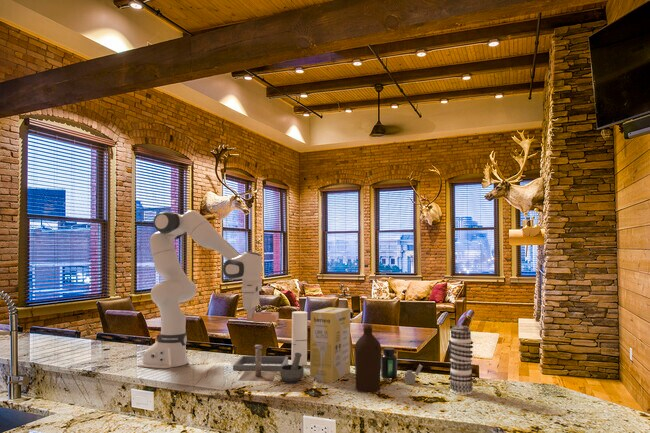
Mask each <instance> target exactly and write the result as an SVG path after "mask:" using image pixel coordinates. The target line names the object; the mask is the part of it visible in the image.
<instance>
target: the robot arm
mask: <svg viewBox="0 0 650 433" xmlns="http://www.w3.org/2000/svg"><path fill="white" fill-rule="evenodd" d="M152 222H153V227H154V229H155V230H156V232H154V233H152V235H151V236H150V238H149V246H150V252H151V257H152V260H153V263H154V265H153V266H154V267H155V271H156V273H157V274H158V275H160V276H161V277H162V278H163V280H164V281H160V282H158V283H155V285H153V286H152V288H151V291H150V298H151V301H152V302H153V303H154V304H155V305H156V306H157V308H158V310H159V314H160V323H161V324H160V327H161V328H160V332H159V334H157V335H156V336H155V340H156V342H155V343H153V344H151V345H150V346H149V347H148V348H147V349H146V350H145V351H144V353H143V355H142V356H143V357H142V359H141V360H139V361H138V362H137V367H140V368H141V367H142V368H143V367H144V368H153V369H155V368H156V369H170V368H174V367H175V368H176V367H180V366H184V365H187V364H189V359H188V356H187V355H188V354H187V349H186V348H187V346H186V345H187V332H186V324H187V323H186V322H187V317H186V314H185V313H183V312H182V310H181V306H180V303H186V302H189V301H190V300H192V299H194V298H195V296H196V295H197V291H198V290H197V285H196V284H195V282H194V281H193V280H191V279H190V278H189V277H188V276H187V274H186V273H185V272H184V270H183V268H182V266H181V264H180V261H179V260H180V259H179V258H178V254H177V251H176V246H175V243H174V242H175V240H179V239H180V238H181V237H183V236H184V235H186V234H188V235H189V237H190V238H191V239H192V240H193V241H194V243H196V244H197V245H199V246H200V247H202V248H206V249H209V250H213V251H215V252H217V253H219V254H220V255H222V257H223V258H224V259H226V261H225V262H224V263H223V265H222V273H223V276H224V277H225V278H227V279H230V280H241V281H242V284H241V288H240V290H241V292H240V293H242V307H243V310H245V311H246V312H247V314H248V318H252V315H253V314H252V313H256V309H257V308H256V307H257V306H259V305H260V292H261V291H262V289H263V288H262V287H263V286H262V282H263V280H262V271H263V261H262V256H261V254H260V253H259V252H256V251H244V252H243V253H242V254H240V253H239V251H237V249H235V248H234V246H232V244H230V243H229V242H228V241H227V240H226V239H225V238H224V237H223V236H222V235H221V234H220V233H219V232H218V231H217V229H215V227H214V226H213V225H212V224H211V223H210V222H209V221H208V219H206V217H204V216H203V215H202V214H201V213H199V212H198V211H197V210H194V209H193V210H192V209H190V210H188V211H186V212H185V213H183V214H180V213H178V212H171V211H161V212H159V213H157V214H156V215H155V216H154V218H153V221H152Z"/></svg>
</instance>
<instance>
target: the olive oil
mask: <svg viewBox="0 0 650 433" xmlns="http://www.w3.org/2000/svg"><path fill="white" fill-rule="evenodd" d="M353 350H354V352H353V353H354V371H355V372H354V373H355V390H356V391H358V392H361V393H368V392H370V393H377V392H378V391H380V390H381V356H382V352H383V351H382V346H381V343H380V341H379V340H378V339H377V338H376V336H375V335H374V334H373V325H372V323H364V324H363V334H362V335H361V337H359V339H358V340H356V342H355V345H354V349H353Z"/></svg>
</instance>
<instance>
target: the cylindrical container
mask: <svg viewBox="0 0 650 433" xmlns="http://www.w3.org/2000/svg"><path fill="white" fill-rule="evenodd" d="M295 353H300V354H302V356H301V357H300V362H299V365H300V366H303V367H304V366H307V365H308V360H307V359H308V311H303V310H302V311H301V310H299V311H297V310H296V311H292V312H291V362H290V363H291V364H290V365H292V364H293V361H294V358H295Z"/></svg>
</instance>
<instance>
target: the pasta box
mask: <svg viewBox="0 0 650 433" xmlns="http://www.w3.org/2000/svg"><path fill="white" fill-rule="evenodd" d="M309 341H310V345H309V346H310V347H309V348H310V349H309V351H310V354H309V355H310V357H309V359H310V361H309V365H310V366H309V376H310V377H313V381H316V382H323V383H330V382H332V383H331V384H333V382H334V383H336V382H337V381H339V380H340V379H342V378H344V377H345V376H347V375H348V373H349V374H350V373H351V308H345V307H334V306H333V307H330V306H329V307H325V308H321V309H317V310H313V311H310V340H309ZM346 374H347V375H346ZM343 376H344V377H343ZM341 377H342V378H341ZM338 379H339V380H338ZM336 380H337V381H336Z"/></svg>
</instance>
